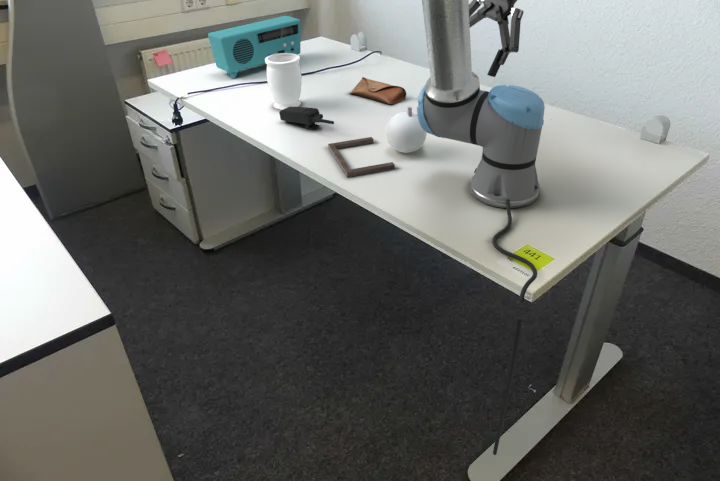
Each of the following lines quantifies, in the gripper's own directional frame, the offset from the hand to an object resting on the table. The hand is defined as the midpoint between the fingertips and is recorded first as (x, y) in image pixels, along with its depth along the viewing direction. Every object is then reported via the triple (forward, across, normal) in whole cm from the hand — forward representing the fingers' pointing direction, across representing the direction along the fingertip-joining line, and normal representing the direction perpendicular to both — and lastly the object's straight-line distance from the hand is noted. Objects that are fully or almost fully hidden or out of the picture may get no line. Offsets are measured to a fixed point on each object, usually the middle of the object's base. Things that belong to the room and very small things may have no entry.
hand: (471, 66), depth 141 cm
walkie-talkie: (+33, +30, +19) cm, 48 cm away
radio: (+34, +87, +1) cm, 93 cm away
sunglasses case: (+22, +35, -9) cm, 43 cm away
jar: (+34, +48, +15) cm, 61 cm away
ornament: (+25, 0, +11) cm, 27 cm away
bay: (+29, +4, +22) cm, 37 cm away
